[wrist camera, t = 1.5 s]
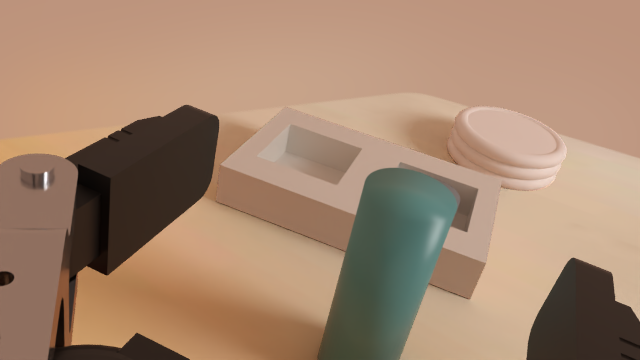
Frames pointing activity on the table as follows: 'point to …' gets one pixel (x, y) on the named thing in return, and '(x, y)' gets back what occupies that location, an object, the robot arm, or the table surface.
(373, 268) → the teal cylinder
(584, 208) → the table surface
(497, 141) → the coaster
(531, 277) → the table surface
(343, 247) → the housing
